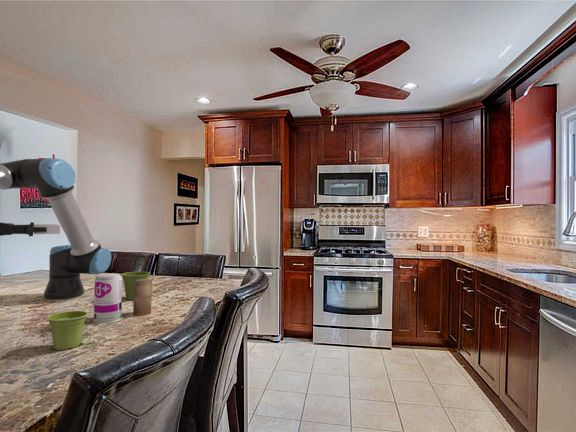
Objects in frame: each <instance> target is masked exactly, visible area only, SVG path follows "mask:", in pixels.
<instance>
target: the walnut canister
mask: <svg viewBox="0 0 576 432" xmlns="http://www.w3.org/2000/svg"><path fill="white" fill-rule="evenodd" d="M152 292H153V280H152V279H150V278H148V279H138V280H134V299H133V300H132V301H133V305H132V306H133V307H132V308H133V310H132V312H133V315H135V316H145V315H149V314H151V310H152V296H153V295H152V294H153V293H152Z"/></svg>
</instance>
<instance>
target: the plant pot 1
mask: <svg viewBox="0 0 576 432" xmlns="http://www.w3.org/2000/svg"><path fill="white" fill-rule="evenodd" d="M88 315H89V312H88V311H84V310H69V311H63V312H58V313H57V312H56V313H53V314H50V315H48V316H47V318H46V319H47V321H48V323H49V325H50V329H51V338H52V345H53V349H54V350H55V351H56V350H57V351H66V350H69V349H70V348H71V349H75V348H77V347H79V346H80V345H81V342H82V336H83V332H84V331H83V330H84V327H85V321H86V320H87V317H88Z"/></svg>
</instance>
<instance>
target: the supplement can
mask: <svg viewBox="0 0 576 432" xmlns="http://www.w3.org/2000/svg"><path fill="white" fill-rule="evenodd" d="M93 292H94V301H93V319H95V320H96V321H99V322H107V321H113V320H116V319H118V318H119V317H120V316H122V309H123V308H122V306H123V305H122V300H123V298H122V296H123V294H122V293H123V276H122V275H121V274H120V273H118V272H111V273H109V272H107V273H101V274H96V277H95V279H94V289H93Z"/></svg>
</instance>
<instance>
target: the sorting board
mask: <svg viewBox="0 0 576 432" xmlns="http://www.w3.org/2000/svg"><path fill="white" fill-rule="evenodd" d="M156 313H157V312H156V311H155V310H152V309H151V314H149V315H145V316H135V315H133V311H132V312H130V313H128V317H131V318H145V317H151V316H153V315H155V314H156ZM123 318H124V317H123V316H122V315H121V316H120V317H119V318H118V319H116V320H113V321H107V322H99V321H96V320H95V319H94V318H93V319H92V322H93V323H97V324H107V323H113V322H117V321H120V320H122V319H123Z"/></svg>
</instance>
